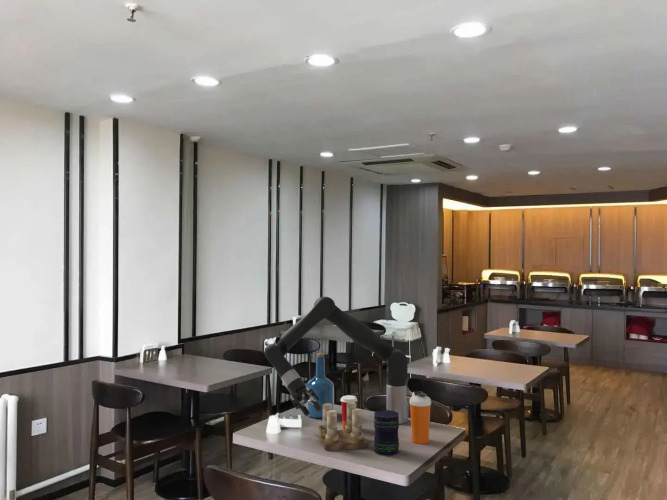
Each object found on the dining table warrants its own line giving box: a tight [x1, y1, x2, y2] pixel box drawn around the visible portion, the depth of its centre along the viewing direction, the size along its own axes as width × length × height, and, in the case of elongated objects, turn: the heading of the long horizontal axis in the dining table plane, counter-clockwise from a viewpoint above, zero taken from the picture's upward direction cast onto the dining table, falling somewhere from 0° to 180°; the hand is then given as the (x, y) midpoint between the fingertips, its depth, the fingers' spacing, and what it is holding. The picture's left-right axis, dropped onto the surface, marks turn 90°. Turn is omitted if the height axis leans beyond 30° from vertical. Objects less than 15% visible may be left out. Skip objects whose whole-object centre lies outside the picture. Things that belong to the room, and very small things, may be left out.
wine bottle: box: [305, 352, 335, 419], centre depth 268 cm, size 14×13×30 cm
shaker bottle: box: [408, 391, 432, 445], centre depth 230 cm, size 9×9×20 cm
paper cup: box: [339, 395, 359, 430], centre depth 246 cm, size 8×8×14 cm
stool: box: [318, 402, 368, 452], centre depth 228 cm, size 17×17×14 cm
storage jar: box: [373, 403, 400, 457], centre depth 217 cm, size 10×10×18 cm
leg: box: [322, 403, 332, 430], centre depth 232 cm, size 4×4×12 cm
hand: (314, 412), depth 236 cm, fingers open, 8 cm apart
